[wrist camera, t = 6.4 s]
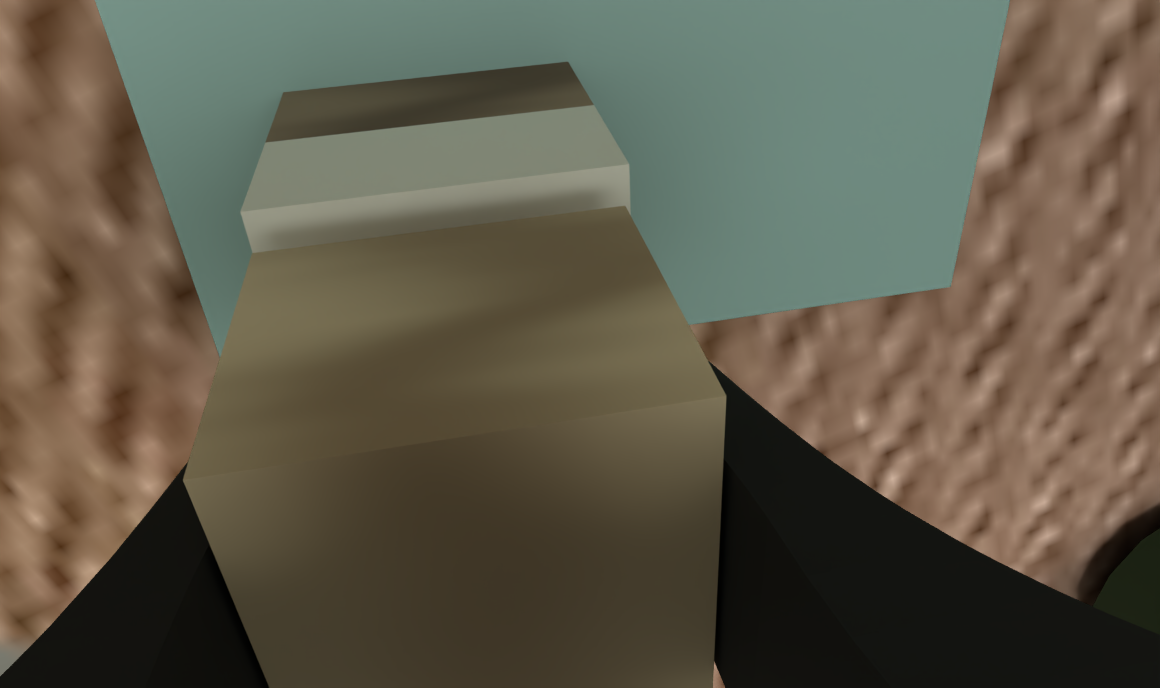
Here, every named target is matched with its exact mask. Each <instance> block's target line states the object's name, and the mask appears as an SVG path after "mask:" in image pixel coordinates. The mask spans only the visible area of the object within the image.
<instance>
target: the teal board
mask: <svg viewBox="0 0 1160 688" xmlns="http://www.w3.org/2000/svg"><path fill="white" fill-rule="evenodd" d="M95 2H96V5H97V7H98V10H99V13H100V16H101V19H102V22H103V25H104V27H105V30H106V33H107V36H108V39H109V42H110V45H111V47H112V50H113V53H114V56H115V59H116V62H117V65H118V67H119V70H120V73H121V76H122V79H123V82H124V85H125V87H126V90H127V93H128V96H129V99H130V102H131V105H132V107H133V110H134V113H135V116H136V119H137V122H138V125H139V128H140V130H141V133H142V136H143V139H144V142H145V145H146V148H147V150H148V153H149V156H150V159H151V162H152V165H153V168H154V170H155V173H156V176H157V179H158V182H159V185H160V188H161V190H162V193H163V196H164V199H165V202H166V205H167V208H168V210H169V213H170V216H171V219H172V222H173V225H174V228H175V230H176V233H177V236H178V239H179V242H180V245H181V248H182V250H183V253H184V256H185V259H186V262H187V265H188V268H189V270H190V273H191V276H192V279H193V282H194V285H195V288H196V291H197V293H198V296H199V299H200V302H201V305H202V308H203V311H204V313H205V316H206V319H207V322H208V325H209V328H210V331H211V333H212V336H213V339H214V342H215V345H216V348H217V351H218V353H219V356H221V353H222V350H223V347H224V343H225V340H226V337H227V333H228V330H229V327H230V324H231V320H232V317H233V314H234V310H235V307H236V304H237V301H238V297H239V294H240V291H241V288H242V284H243V281H244V278H245V274H246V271H247V268H248V265H249V261H250V258H251V255H252V249H251V246H250V243H249V239H248V236H247V233H246V229H245V226H244V223H243V219H242V216H241V213H240V211H241V209H242V206H243V203H244V200H245V197H246V195H247V192H248V189H249V186H250V184H251V181H252V178H253V175H254V172H255V170H256V167H257V164H258V161H259V159H260V156H261V153H262V150H263V147H264V145H265V142H266V139H267V136H268V134H269V131H270V128H271V125H272V122H273V120H274V117H275V114H276V111H277V109H278V106H279V103H280V100H281V97H282V95H283V92H291V91H300V90H309V89H318V88H328V87H337V86H346V85H356V84H365V83H374V82H383V81H393V80H402V79H411V78H420V77H430V76H439V75H448V74H457V73H467V72H476V71H485V70H494V69H504V68H513V67H522V66H531V65H541V64H550V63H559V62H569V64H570V66H571V67H572V69H573V71H574V72H575V74H576V76H577V77H578V79H579V81H580V82H581V84H582V86H583V88H584V89H585V91H586V93H587V94H588V96H589V98H590V99H591V101H592V103H593V104H594V106H595V108H596V109H597V111H598V113H599V114H600V116H601V118H602V119H603V121H604V123H605V124H606V126H607V128H608V129H609V131H610V133H611V134H612V136H613V138H614V139H615V141H616V143H617V144H618V146H619V148H620V149H621V151H622V153H623V154H624V156H625V158H626V159H627V161H628V163H629V172H630V209H631V217H632V219H633V221H634V223H635V225H636V227H637V228H638V230H639V232H640V234H641V236H642V238H643V240H644V242H645V244H646V245H647V247H648V249H649V251H650V253H651V255H652V257H653V259H654V260H655V262H656V264H657V266H658V268H659V270H660V272H661V274H662V276H663V277H664V279H665V281H666V283H667V285H668V287H669V289H670V291H671V292H672V294H673V296H674V298H675V300H676V302H677V304H678V306H679V308H680V309H681V311H682V313H683V315H684V317H685V319H686V321H687V323H688V325H691V324H698V323H705V322H712V321H719V320H726V319H733V318H739V317H746V316H753V315H760V314H767V313H774V312H781V311H788V310H795V309H801V308H808V307H815V306H822V305H829V304H836V303H843V302H850V301H857V300H863V299H870V298H877V297H884V296H891V295H898V294H905V293H912V292H918V291H925V290H932V289H939V288H946V287H951V282H952V277H953V273H954V268H955V263H956V258H957V253H958V249H959V244H960V239H961V234H962V229H963V224H964V220H965V215H966V210H967V205H968V200H969V196H970V191H971V186H972V181H973V176H974V171H975V167H976V162H977V157H978V152H979V147H980V143H981V138H982V133H983V128H984V123H985V118H986V114H987V109H988V104H989V99H990V94H991V90H992V85H993V80H994V75H995V70H996V66H997V61H998V56H999V51H1000V46H1001V41H1002V37H1003V32H1004V27H1005V22H1006V17H1007V13H1008V8H1009V3H1010V0H95Z"/></svg>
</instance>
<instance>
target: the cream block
mask: <svg viewBox="0 0 1160 688" xmlns="http://www.w3.org/2000/svg"><path fill="white" fill-rule="evenodd" d="M618 206H626V208H627V210H628V212H629V213H630V215H631V209H630V172H629V163H628V161H627V159H626V158H625V156H624V154H623V153H622V151H621V149H620V148H619V146H618V144H617V143H616V141H615V139H614V138H613V136H612V134H611V133H610V131H609V129H608V128H607V126H606V124H605V123H604V121H603V119H602V118H601V116H600V114H599V113H598V111H597V109H596V108H595V106H594V105H590V106H581V107H572V108H564V109H555V110H546V111H537V112H529V113H520V114H511V115H502V116H494V117H485V118H476V119H467V120H459V121H450V122H441V123H432V124H424V125H415V126H406V127H397V128H389V129H380V130H371V131H362V132H354V133H345V134H336V135H327V136H319V137H310V138H301V139H292V140H284V141H275V142H266V143H265V145H264V147H263V150H262V153H261V156H260V159H259V161H258V164H257V167H256V170H255V172H254V175H253V178H252V181H251V184H250V186H249V189H248V192H247V195H246V197H245V200H244V203H243V206H242V209H241V211H240V213H241V216H242V219H243V223H244V226H245V229H246V233H247V236H248V239H249V243H250V246H251V249H252V253H257V252H265V251H273V250H281V249H288V248H296V247H304V246H312V245H320V244H328V243H335V242H343V241H351V240H359V239H367V238H375V237H383V236H390V235H398V234H406V233H414V232H422V231H430V230H438V229H445V228H453V227H461V226H469V225H477V224H485V223H493V222H500V221H508V220H516V219H524V218H532V217H540V216H548V215H555V214H563V213H571V212H579V211H587V210H595V209H603V208H610V207H618Z"/></svg>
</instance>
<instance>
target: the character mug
mask: <svg viewBox="0 0 1160 688" xmlns="http://www.w3.org/2000/svg"><path fill="white" fill-rule="evenodd" d="M1093 607H1095V608H1097V609H1099V610H1101V611H1104V612H1106V613H1108V614H1110V615H1113V616H1115V617H1118V618H1120V619H1123V620H1125V621H1128V622H1130V623H1132V624H1135V625H1137V626H1140V627H1142V628H1145V629H1147V630H1150V631H1152V632H1154V633H1157V634H1159V635H1160V529H1158V530H1157V531H1155V532H1154V533H1152V534H1151V535H1149V536H1147V537H1146V538H1144V539H1143V540H1141V542H1140V543H1139V544H1138V545H1137V546H1136V547H1135V548H1134V549H1133V550H1132V551H1131V553H1130V554H1129V555H1128V556H1127V557H1126V558H1125V559H1124V560H1123V561H1122V562H1121V564H1120V565H1119V566H1118V567H1117V568H1116V569H1115V570H1114V571H1113V572H1112V573H1111V574H1110V576H1109V578H1108V580H1107V581H1106V583H1105V585H1104V587H1103V589H1102V590H1101V592H1100V594H1099V596H1098V598H1097V599H1096V601H1095V603H1094V605H1093Z"/></svg>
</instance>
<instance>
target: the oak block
mask: <svg viewBox="0 0 1160 688" xmlns="http://www.w3.org/2000/svg"><path fill="white" fill-rule="evenodd" d="M725 415H726V394H725V392H724V390H723V389H722V387H721V385H720V383H719V381H718V379H717V377H716V375H715V373H714V372H713V370H712V368H711V366H710V364H709V362H708V360H707V358H706V357H705V355H704V353H703V351H702V349H701V347H700V345H699V343H698V341H697V340H696V338H695V336H694V334H693V332H692V330H691V328H690V326H689V325H688V323H687V321H686V319H685V317H684V315H683V313H682V311H681V309H680V308H679V306H678V304H677V302H676V300H675V298H674V296H673V294H672V292H671V291H670V289H669V287H668V285H667V283H666V281H665V279H664V277H663V276H662V274H661V272H660V270H659V268H658V266H657V264H656V262H655V260H654V259H653V257H652V255H651V253H650V251H649V249H648V247H647V245H646V244H645V242H644V240H643V238H642V236H641V234H640V232H639V230H638V228H637V227H636V225H635V223H634V221H633V219H632V217H631V215H630V213H629V212H628V210H627V208H626V206H618V207H610V208H603V209H595V210H587V211H579V212H571V213H563V214H555V215H548V216H540V217H532V218H524V219H516V220H508V221H500V222H493V223H485V224H477V225H469V226H461V227H453V228H445V229H438V230H430V231H422V232H414V233H406V234H398V235H390V236H383V237H375V238H367V239H359V240H351V241H343V242H335V243H328V244H320V245H312V246H304V247H296V248H288V249H281V250H273V251H265V252H257V253H252V255H251V258H250V261H249V265H248V268H247V271H246V274H245V278H244V281H243V284H242V288H241V291H240V294H239V297H238V301H237V304H236V307H235V310H234V314H233V317H232V320H231V324H230V327H229V330H228V333H227V337H226V340H225V343H224V347H223V350H222V353H221V356H220V360H219V363H218V366H217V370H216V373H215V376H214V379H213V383H212V386H211V389H210V393H209V396H208V399H207V402H206V406H205V409H204V412H203V416H202V419H201V422H200V425H199V429H198V432H197V435H196V438H195V442H194V445H193V448H192V452H191V455H190V458H189V461H188V465H187V468H186V471H185V475H184V478H183V482H184V484H185V486H186V489H187V491H188V494H189V496H190V498H191V501H192V503H193V506H194V508H195V510H196V513H197V515H198V518H199V520H200V522H201V525H202V527H203V530H204V532H205V534H206V537H207V539H208V542H209V544H210V546H211V549H212V551H213V554H214V556H215V558H216V561H217V563H218V566H219V568H220V570H221V573H222V575H223V578H224V580H225V582H226V585H227V587H228V590H229V592H230V594H231V597H232V599H233V602H234V604H235V606H236V609H237V611H238V614H239V616H240V618H241V621H242V623H243V626H244V628H245V630H246V633H247V635H248V637H249V640H250V642H251V645H252V647H253V649H254V652H255V654H256V657H257V659H258V661H259V664H260V666H261V669H262V671H263V673H264V676H265V678H266V681H267V683H268V685H269V688H713V671H714V650H715V628H716V607H717V586H718V564H719V543H720V522H721V500H722V479H723V458H724V436H725Z"/></svg>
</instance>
